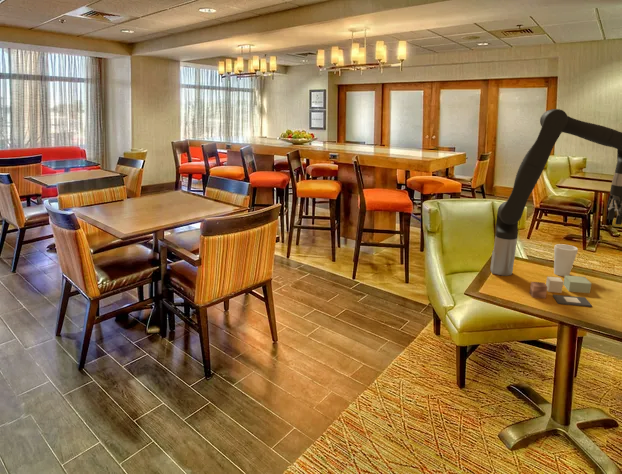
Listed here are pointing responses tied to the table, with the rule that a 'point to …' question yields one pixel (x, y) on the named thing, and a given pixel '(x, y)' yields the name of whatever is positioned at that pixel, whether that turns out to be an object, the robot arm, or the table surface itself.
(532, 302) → the table surface
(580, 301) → the card
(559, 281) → the cream cube
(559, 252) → the foam cup
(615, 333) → the table surface
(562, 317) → the table surface
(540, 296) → the terracotta cube
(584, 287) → the green block
